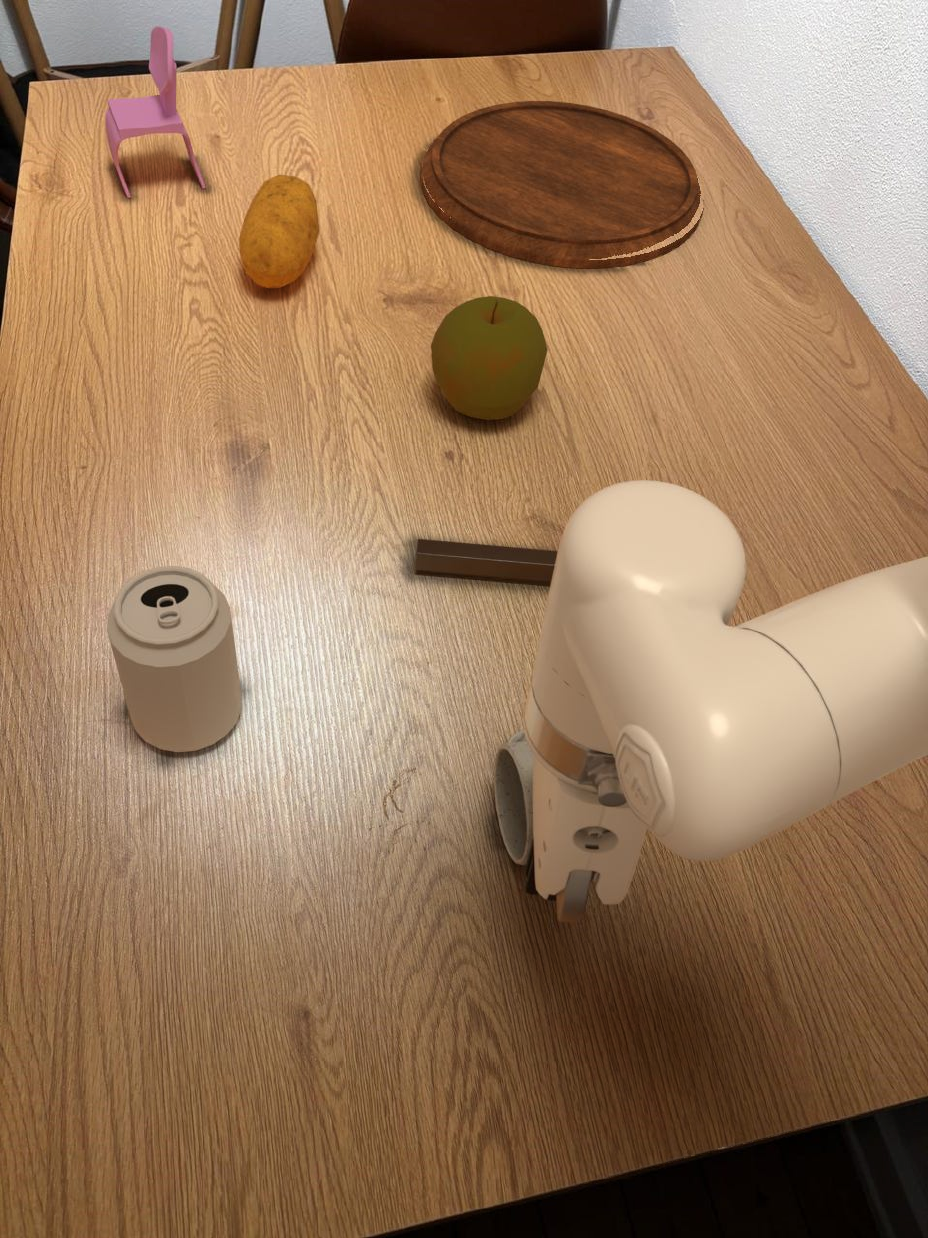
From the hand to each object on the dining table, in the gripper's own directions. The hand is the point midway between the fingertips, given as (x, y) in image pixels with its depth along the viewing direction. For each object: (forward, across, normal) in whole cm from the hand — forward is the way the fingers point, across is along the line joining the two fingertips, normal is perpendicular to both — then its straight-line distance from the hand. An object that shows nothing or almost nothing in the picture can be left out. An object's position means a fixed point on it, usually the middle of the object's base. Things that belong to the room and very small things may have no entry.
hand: (551, 883), depth 67 cm
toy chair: (+4, +81, +40) cm, 91 cm away
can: (+4, +13, +24) cm, 28 cm away
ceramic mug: (+4, +7, 0) cm, 8 cm away
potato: (+4, +67, +25) cm, 72 cm away
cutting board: (+4, +87, -4) cm, 87 cm away
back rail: (+4, +28, 0) cm, 28 cm away
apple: (+4, +48, +5) cm, 49 cm away
